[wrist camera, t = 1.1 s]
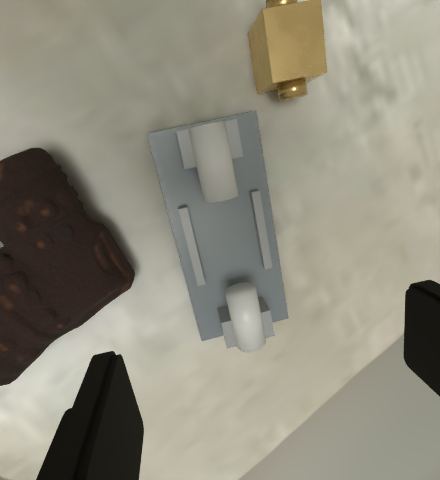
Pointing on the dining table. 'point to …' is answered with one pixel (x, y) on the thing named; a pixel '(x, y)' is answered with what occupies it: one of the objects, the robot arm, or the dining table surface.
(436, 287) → the robot arm
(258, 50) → the coupler
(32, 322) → the dark brown l-shaped piece
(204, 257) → the grey fixture base
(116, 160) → the dining table surface
